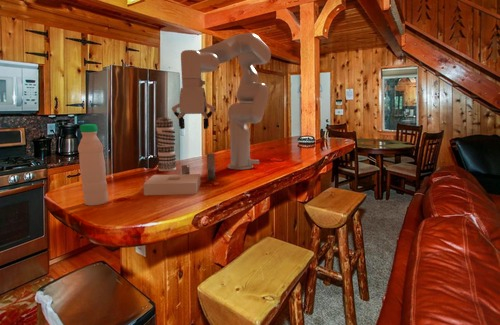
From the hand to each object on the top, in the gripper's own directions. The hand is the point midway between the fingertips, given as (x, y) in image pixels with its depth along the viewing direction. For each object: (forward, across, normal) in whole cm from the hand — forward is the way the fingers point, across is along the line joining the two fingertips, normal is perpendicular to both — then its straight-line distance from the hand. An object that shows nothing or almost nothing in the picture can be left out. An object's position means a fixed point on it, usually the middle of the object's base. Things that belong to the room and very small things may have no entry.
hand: (194, 128), depth 120 cm
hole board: (+21, +4, +13) cm, 25 cm away
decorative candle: (+22, +22, -21) cm, 37 cm away
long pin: (+22, -6, -2) cm, 22 cm away
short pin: (+22, +6, -4) cm, 23 cm away
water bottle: (+21, +23, +32) cm, 44 cm away
